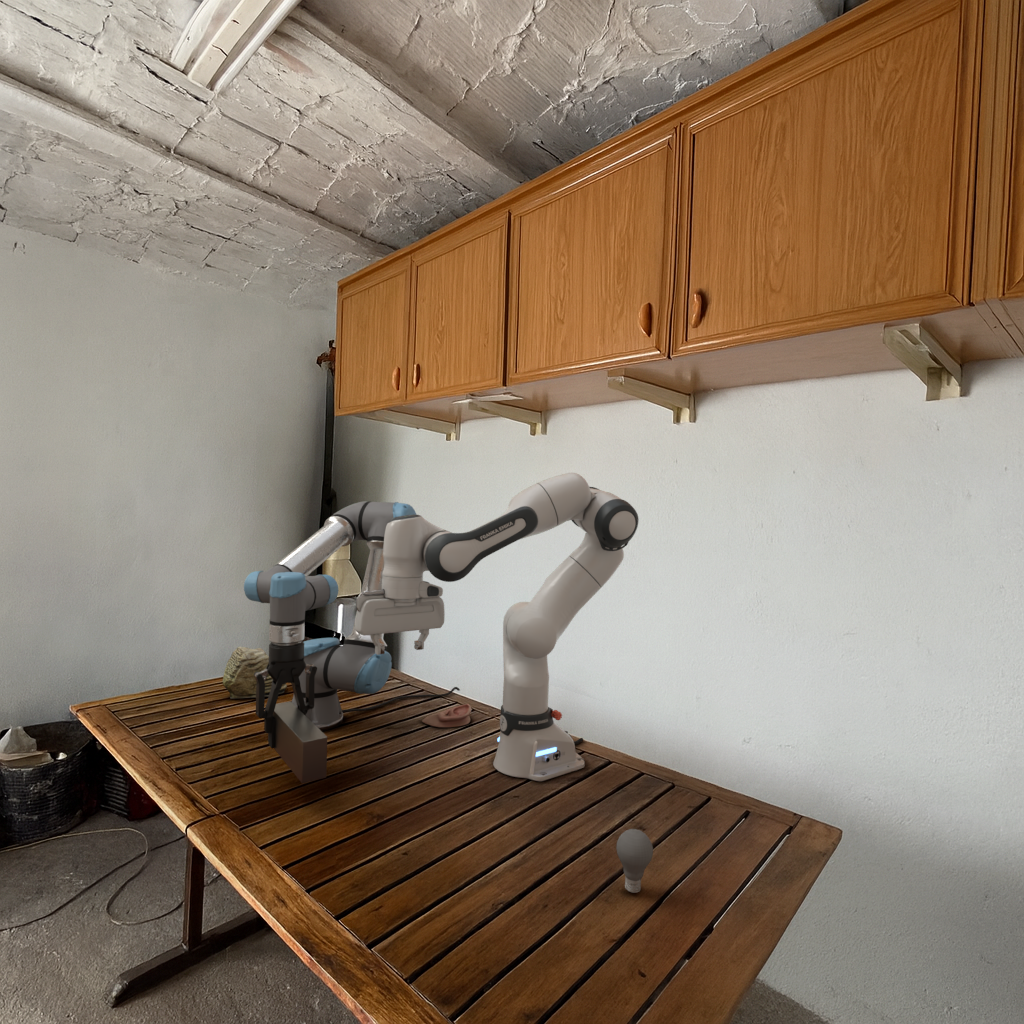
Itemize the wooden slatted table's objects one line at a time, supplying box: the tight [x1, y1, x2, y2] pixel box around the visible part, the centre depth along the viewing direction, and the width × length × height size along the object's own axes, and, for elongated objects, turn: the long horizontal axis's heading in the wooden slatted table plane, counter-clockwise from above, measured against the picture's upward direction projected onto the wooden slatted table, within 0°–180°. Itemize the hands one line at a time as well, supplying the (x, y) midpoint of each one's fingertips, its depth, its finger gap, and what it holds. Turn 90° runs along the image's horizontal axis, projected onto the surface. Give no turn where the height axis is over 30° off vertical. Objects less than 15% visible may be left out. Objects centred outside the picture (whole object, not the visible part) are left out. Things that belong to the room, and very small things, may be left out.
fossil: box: [222, 646, 288, 699], centre depth 198 cm, size 9×18×15 cm, turn 132°
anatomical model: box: [421, 703, 472, 728], centre depth 182 cm, size 13×4×12 cm
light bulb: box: [615, 828, 654, 894], centre depth 106 cm, size 6×6×10 cm
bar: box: [267, 700, 328, 784], centre depth 137 cm, size 24×5×8 cm, turn 36°
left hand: (284, 743), depth 143 cm, fingers closed on bar, 5 cm apart
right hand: (399, 651), depth 139 cm, fingers open, 8 cm apart
